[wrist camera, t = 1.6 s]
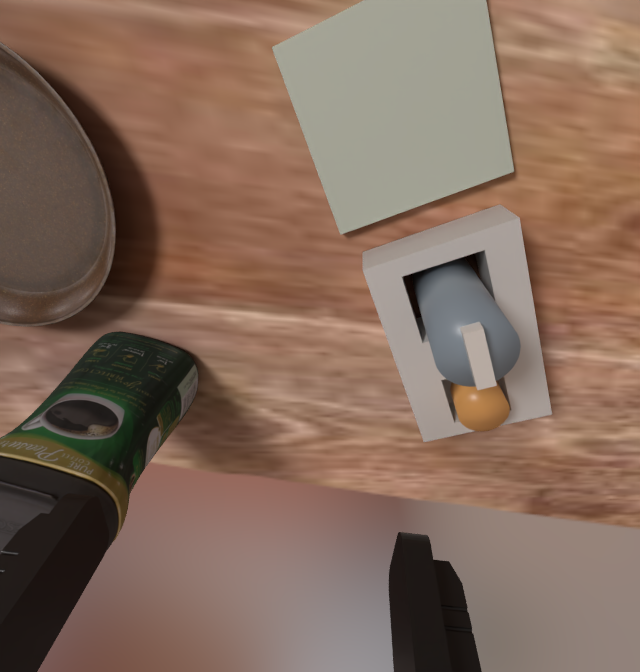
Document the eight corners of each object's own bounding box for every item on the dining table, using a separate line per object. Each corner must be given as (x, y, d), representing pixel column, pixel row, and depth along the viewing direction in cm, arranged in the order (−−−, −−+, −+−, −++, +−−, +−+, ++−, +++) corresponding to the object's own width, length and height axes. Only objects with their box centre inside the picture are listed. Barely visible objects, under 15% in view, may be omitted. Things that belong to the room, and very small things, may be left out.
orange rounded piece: (445, 375, 32) (452, 399, 29) (493, 363, 31) (505, 386, 28) (455, 410, 33) (463, 435, 31) (501, 399, 33) (513, 424, 30)
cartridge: (464, 241, 30) (518, 311, 20) (476, 294, 32) (531, 383, 21) (405, 261, 31) (427, 337, 21) (420, 311, 33) (447, 403, 22)
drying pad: (473, -52, 22) (476, -57, 21) (510, 169, 27) (514, 171, 26) (274, 49, 25) (271, 47, 24) (341, 231, 30) (340, 234, 30)
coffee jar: (99, 387, 40) (-82, 578, 24) (101, 318, 36) (-114, 490, 20) (196, 415, 40) (84, 620, 24) (208, 350, 36) (85, 542, 20)
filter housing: (362, 251, 31) (362, 270, 27) (500, 204, 28) (519, 217, 25) (418, 411, 38) (424, 442, 34) (533, 384, 35) (552, 414, 32)
